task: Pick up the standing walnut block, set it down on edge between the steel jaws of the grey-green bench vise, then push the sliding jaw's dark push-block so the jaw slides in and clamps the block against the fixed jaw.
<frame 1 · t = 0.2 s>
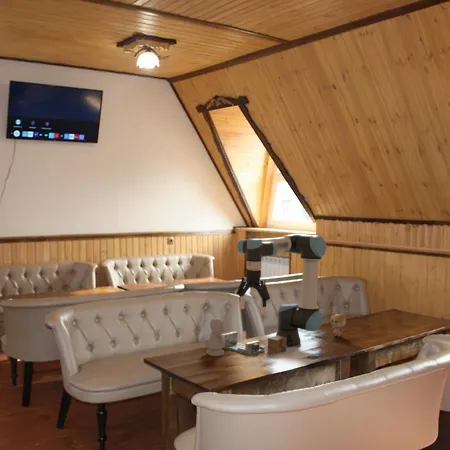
hand: (252, 311, 298), 28 cm above the table, fingers open, 13 cm apart
slide jaw: (240, 348, 328), resting on vise, slide at 0.0 cm
vise: (240, 348, 328), on the table
toy: (337, 336, 364), on the table
block: (276, 352, 325), on the table
figurine: (215, 353, 318), on the table
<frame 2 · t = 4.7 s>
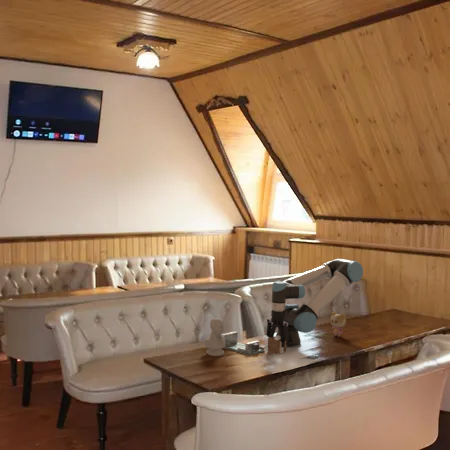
hand: (276, 351, 325), 0 cm above the table, fingers open, 6 cm apart
block: (276, 352, 325), on the table, touching gripper
everything else where it was.
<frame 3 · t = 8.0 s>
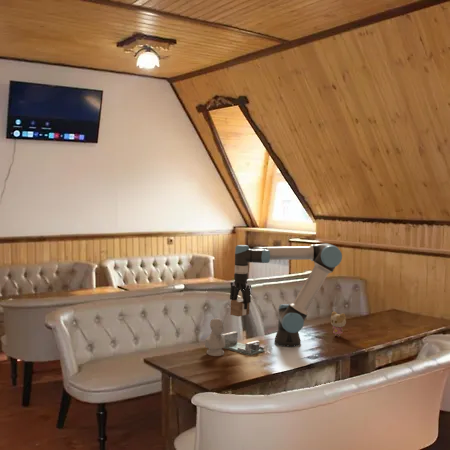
hand: (239, 313, 328), 20 cm above the table, fingers closed on block, 6 cm apart
block: (239, 314, 328), point 19 cm above the table, touching gripper
everything else where it was.
when the fingers open (2 cm above the table, at t = 10.8 s): block stays where it is, resting on vise.
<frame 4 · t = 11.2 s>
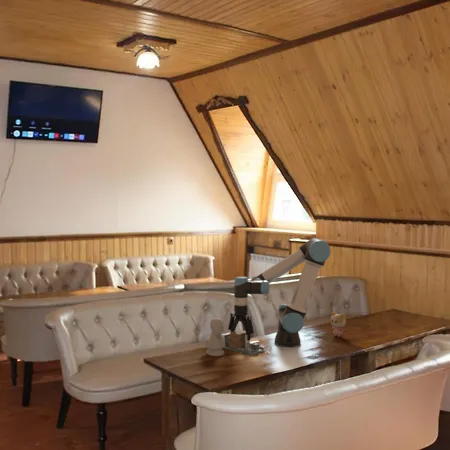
hand: (240, 344, 329), 2 cm above the table, fingers open, 9 cm apart
block: (239, 346, 330), point 1 cm above the table, touching vise
everything else where it was.
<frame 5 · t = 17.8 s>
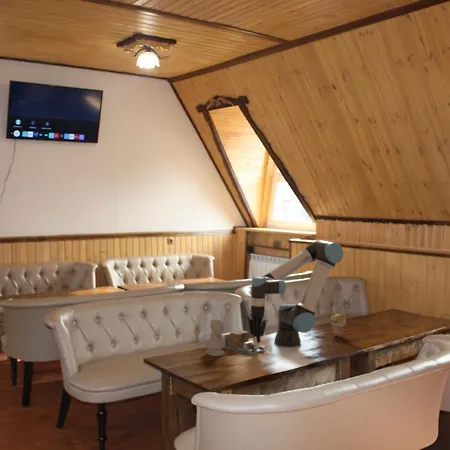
hand: (256, 348, 321), 3 cm above the table, fingers closed
slide jaw: (238, 348, 329), resting on vise, slide at 1.4 cm, touching gripper
everything else where it was.
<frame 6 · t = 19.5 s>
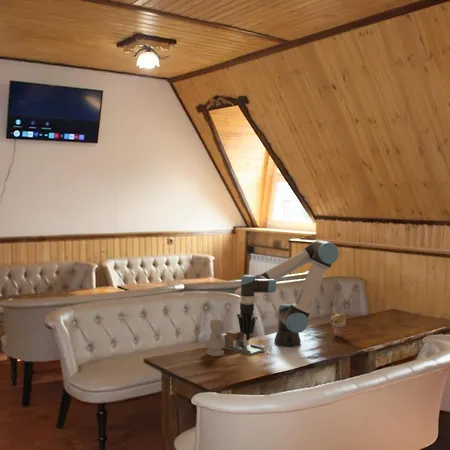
hand: (246, 345, 326), 3 cm above the table, fingers closed
slide jaw: (229, 345, 335), resting on vise, slide at 8.8 cm, touching block, gripper
block: (235, 345, 331), point 1 cm above the table, touching slide jaw
everything else where it was.
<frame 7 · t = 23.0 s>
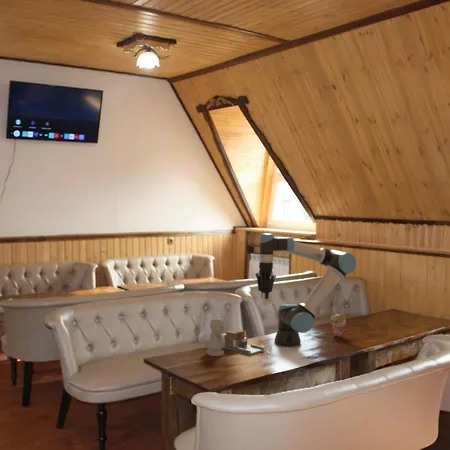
hand: (264, 304, 322), 26 cm above the table, fingers closed
slide jaw: (228, 345, 335), resting on vise, slide at 8.9 cm, touching block
block: (235, 345, 332), point 1 cm above the table, touching slide jaw, vise
everything else where it was.
at the end: block inside the target area on the vise (1.4 cm from its centre), point 1.2 cm above the vise's base; slide jaw slide at 8.9 cm; block tilted 0° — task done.
